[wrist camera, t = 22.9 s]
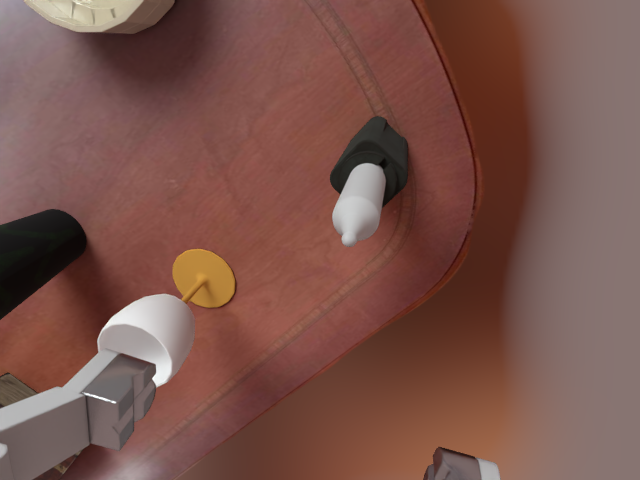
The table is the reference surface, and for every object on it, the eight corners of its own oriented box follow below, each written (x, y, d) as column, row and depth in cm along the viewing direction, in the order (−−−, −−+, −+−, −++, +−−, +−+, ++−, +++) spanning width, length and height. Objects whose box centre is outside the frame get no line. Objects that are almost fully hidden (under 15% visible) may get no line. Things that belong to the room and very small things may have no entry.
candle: (412, 145, 44) (417, 244, 22) (378, 178, 46) (350, 299, 24) (377, 111, 43) (346, 177, 21) (344, 146, 46) (283, 241, 23)
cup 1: (96, 213, 55) (-12, 271, 41) (95, 276, 60) (-4, 347, 46) (26, 189, 56) (-106, 237, 42) (29, 253, 61) (-88, 316, 46)
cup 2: (197, 235, 54) (120, 303, 40) (249, 282, 55) (193, 363, 41) (161, 275, 58) (78, 350, 43) (210, 318, 59) (147, 404, 45)
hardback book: (6, 371, 73) (-20, 392, 68) (96, 432, 75) (77, 456, 71) (-34, 446, 85) (-58, 468, 81) (45, 496, 88) (25, 520, 83)
